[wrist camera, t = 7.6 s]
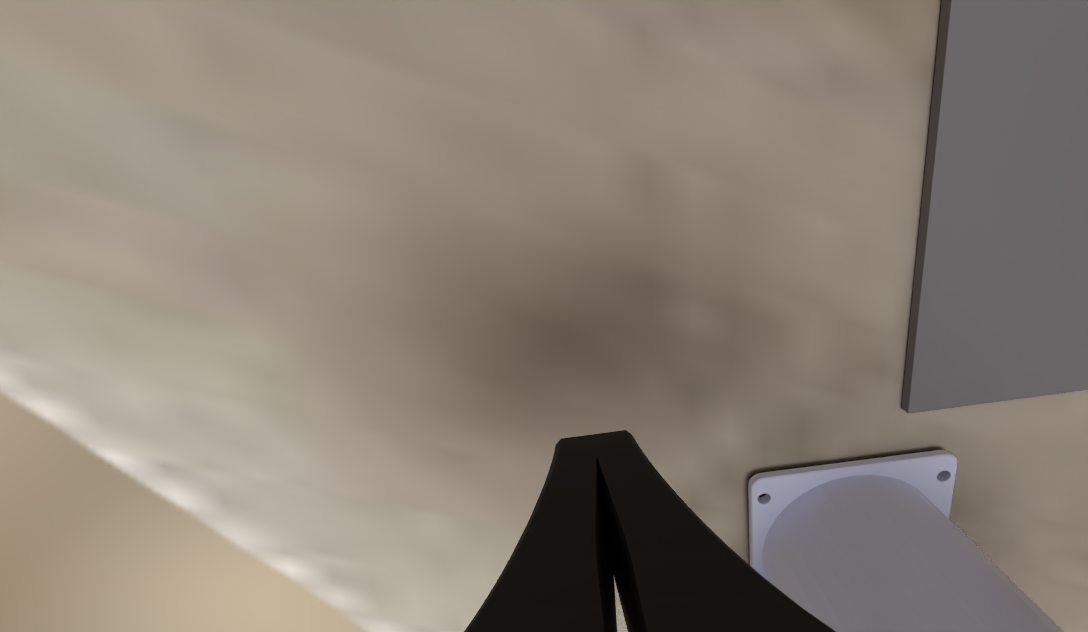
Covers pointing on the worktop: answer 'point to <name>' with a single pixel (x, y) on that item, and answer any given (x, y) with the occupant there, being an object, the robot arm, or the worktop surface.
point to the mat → (1003, 209)
